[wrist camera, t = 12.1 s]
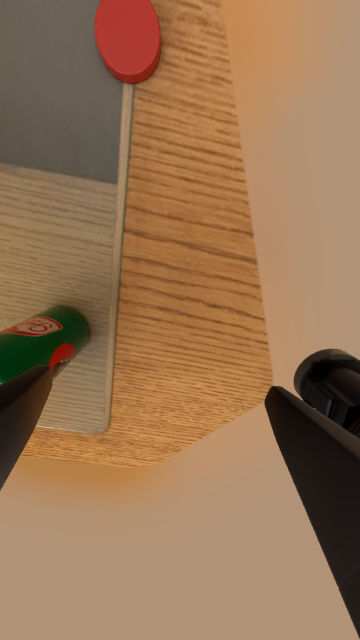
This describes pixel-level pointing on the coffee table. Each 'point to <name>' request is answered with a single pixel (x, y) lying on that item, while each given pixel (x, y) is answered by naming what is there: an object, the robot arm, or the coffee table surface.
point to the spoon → (128, 38)
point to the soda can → (42, 342)
